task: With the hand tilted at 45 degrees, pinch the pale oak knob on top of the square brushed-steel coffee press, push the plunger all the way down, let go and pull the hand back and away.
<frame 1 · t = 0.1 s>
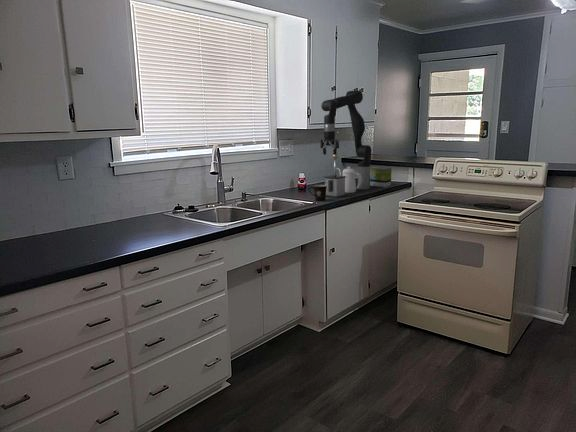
hand: (329, 154, 301), 29 cm above the worktop, tool pointing down, fingers open, 8 cm apart
coffee mug: (318, 200, 295), on the worktop
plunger: (335, 168, 304), point 20 cm above the worktop, slide at 0.0 cm
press: (334, 196, 309), on the worktop
coffeepot: (348, 192, 326), on the worktop
tea box: (379, 186, 353), on the worktop
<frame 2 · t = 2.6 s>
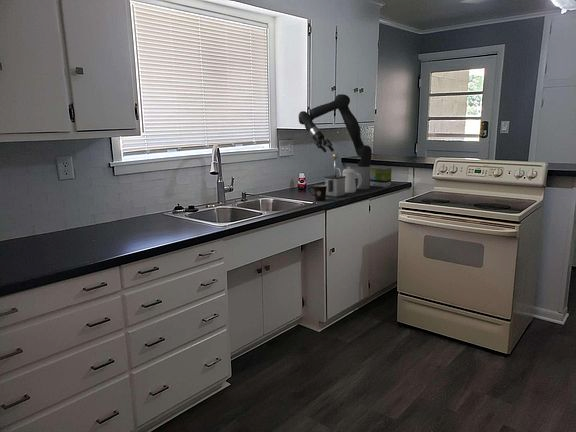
hand: (329, 151, 305), 31 cm above the worktop, tool tilted 45°, fingers open, 8 cm apart
nothing on the worktop moved.
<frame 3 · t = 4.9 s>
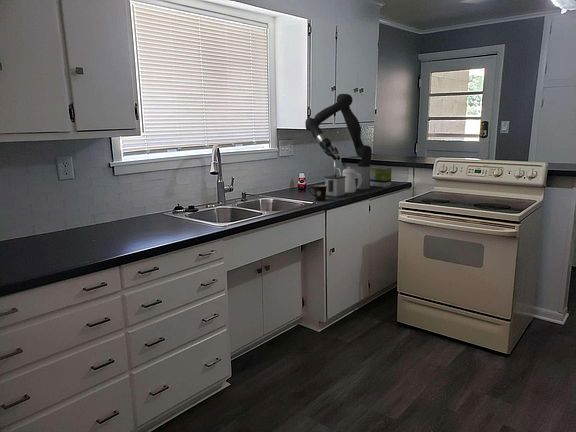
hand: (337, 159, 302), 26 cm above the worktop, tool tilted 45°, fingers closed on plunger, 3 cm apart
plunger: (335, 168, 304), point 20 cm above the worktop, slide at 0.0 cm, touching gripper
everything else where it was.
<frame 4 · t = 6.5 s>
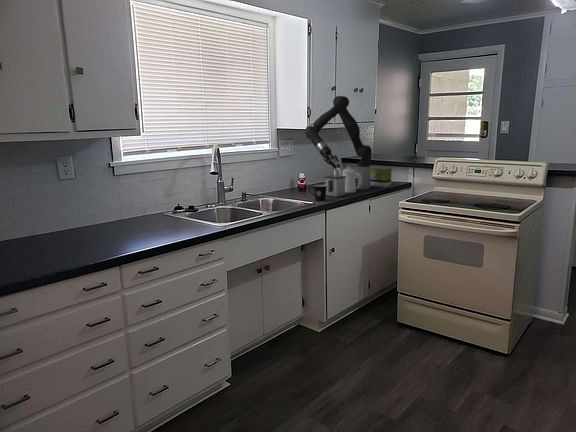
hand: (337, 167, 303), 20 cm above the worktop, tool tilted 45°, fingers closed on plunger, 3 cm apart
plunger: (335, 176, 306), point 14 cm above the worktop, slide at 5.6 cm, touching gripper
everything else where it was.
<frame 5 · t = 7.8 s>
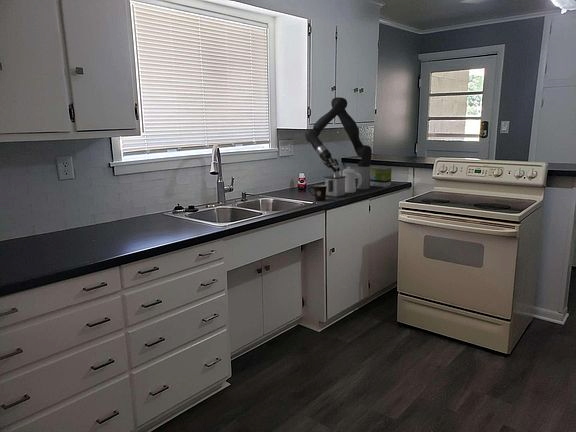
hand: (337, 171, 304), 18 cm above the worktop, tool tilted 45°, fingers closed on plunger, 3 cm apart
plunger: (335, 179, 306), point 12 cm above the worktop, slide at 8.1 cm, touching gripper
everything else where it was.
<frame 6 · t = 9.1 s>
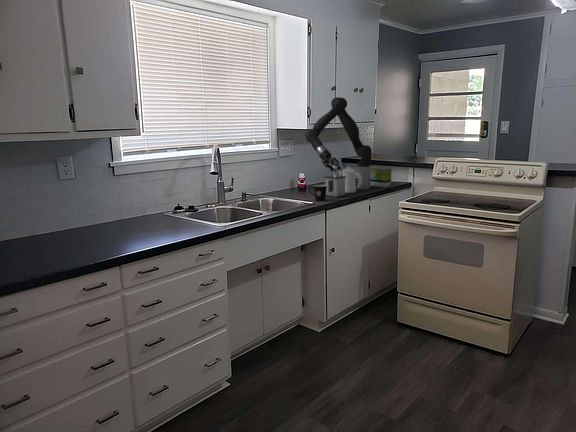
hand: (336, 170, 304), 18 cm above the worktop, tool tilted 45°, fingers open, 8 cm apart
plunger: (335, 179, 306), point 12 cm above the worktop, slide at 8.1 cm
everything else where it was.
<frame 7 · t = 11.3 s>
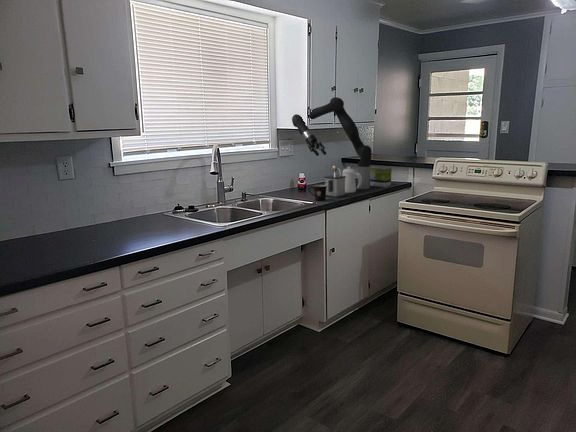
hand: (321, 154, 311), 29 cm above the worktop, tool tilted 45°, fingers open, 8 cm apart
nothing on the worktop moved.
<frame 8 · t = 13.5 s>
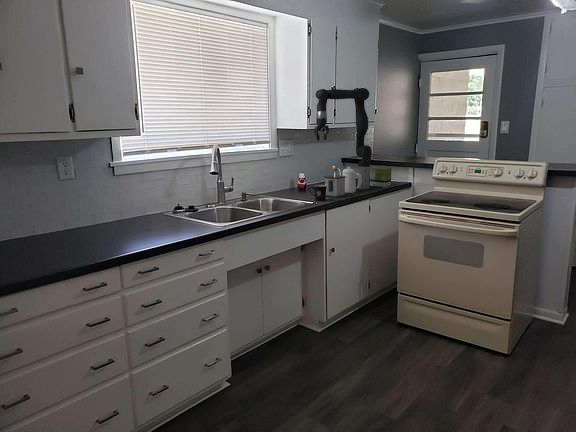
hand: (321, 140, 322), 38 cm above the worktop, tool pointing down, fingers open, 8 cm apart
nothing on the worktop moved.
at the end: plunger slide at 8.1 cm; the gripper is holding nothing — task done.
